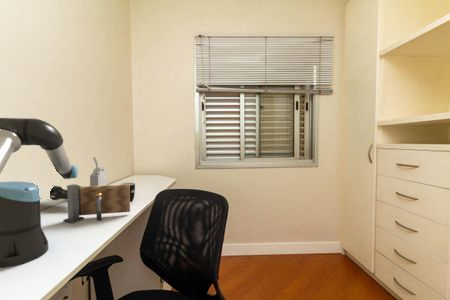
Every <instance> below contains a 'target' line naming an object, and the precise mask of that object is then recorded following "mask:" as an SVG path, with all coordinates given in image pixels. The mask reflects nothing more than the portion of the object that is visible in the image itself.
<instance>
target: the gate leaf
mask: <svg viewBox="0 0 450 300" xmlns="http://www.w3.org/2000/svg"><path fill="white" fill-rule="evenodd" d="M96 193H101V215H104V214H105V215H106V214H118V213H119V214H120V213H130V212H131V202H130V184H125V185H118V184H107V185H103V186H90V185H83V186H82V185H78V195H79V217H81V216H91V215H96V196H95V194H96Z"/></svg>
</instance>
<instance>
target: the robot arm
mask: <svg viewBox="0 0 450 300" xmlns="http://www.w3.org/2000/svg"><path fill="white" fill-rule="evenodd" d="M0 129H1V130H0V174H1V173H2V171H4V168H5V166H6V165H7V163H8V161H9V159H10V157H11V156H12V154H13V153H16V152H18V151H19V150H20V149H21V147H22V146H39V147H40V148H41V149H42V150H44V151H45V153H46V155H47V156H48V158H49V160H50V162H51V163H52V166H54V167H55V169H56V171H57V172H58V173H59V174H60V175H61V176H62V177H63V178H64V179H63V180H72V179H76V178H78V175H79V169H78V166H77V165H73V164H71V161H70V159H69V157H68V154H67V151H66V150H65V147H64V145H63V144H64V137H63V136H62V133H60V131H59V130H58V129H57V128H56V127H54V126H53V125H52V124H50V123H49V122H47V121H44V120H42V119H39V118H27V117H26V118H21V117H20V118H19V117H17V118H16V117H3V118H0ZM53 186H54V187H53V188H52V189H51V191H50V198H51V199H52V200H51V201H58V200H68V199H67V189H63V187H62V186H59V185H58V186H57V185H53ZM48 251H49V241H48V238H47V236H46V235H45V232H44V230H43V229H42V219H41V198H40V196H39V188H38V186H37V185H35V184H33V183H31V182H28V181H15V180H14V181H11V180H10V181H0V268H6V267H7V268H8V267H13V266H17V265H21V264H25V263H27V262H31V261H34V260H35V259H38V258H40V257H41V256H43V255H44V254H46V253H47V252H48Z"/></svg>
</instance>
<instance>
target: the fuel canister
mask: <svg viewBox="0 0 450 300" xmlns="http://www.w3.org/2000/svg"><path fill="white" fill-rule="evenodd" d="M92 159H93V160H94V163H95V167H94V169H93V171H92V172H91V173H90V175H89V186H103V185H108V181H107V179H108V178H107V167H106V166H100V167H99V166H98V160H97V159H96V156H95V157H93V158H92Z"/></svg>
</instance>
